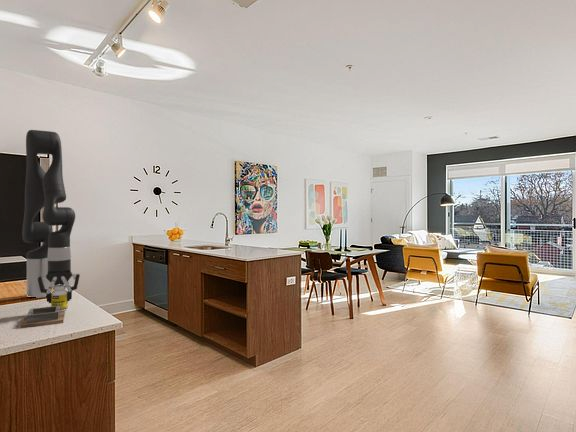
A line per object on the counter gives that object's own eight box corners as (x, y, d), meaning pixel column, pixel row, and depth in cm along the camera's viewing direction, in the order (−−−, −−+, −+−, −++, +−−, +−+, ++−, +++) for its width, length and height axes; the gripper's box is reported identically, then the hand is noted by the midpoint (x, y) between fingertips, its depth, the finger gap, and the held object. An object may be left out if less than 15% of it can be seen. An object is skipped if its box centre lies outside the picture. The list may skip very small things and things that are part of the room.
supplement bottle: (50, 313, 132) (50, 287, 131) (52, 309, 136) (52, 284, 136) (66, 311, 134) (66, 286, 134) (68, 307, 139) (68, 283, 139)
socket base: (25, 317, 126) (25, 308, 126) (64, 313, 132) (64, 304, 132) (20, 328, 116) (20, 317, 115) (63, 322, 122) (63, 312, 121)
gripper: (80, 256, 142) (80, 297, 142) (37, 258, 134) (37, 301, 135) (80, 258, 135) (80, 301, 136) (35, 261, 128) (35, 306, 128)
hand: (59, 301), depth 135 cm, fingers closed on supplement bottle, 5 cm apart
